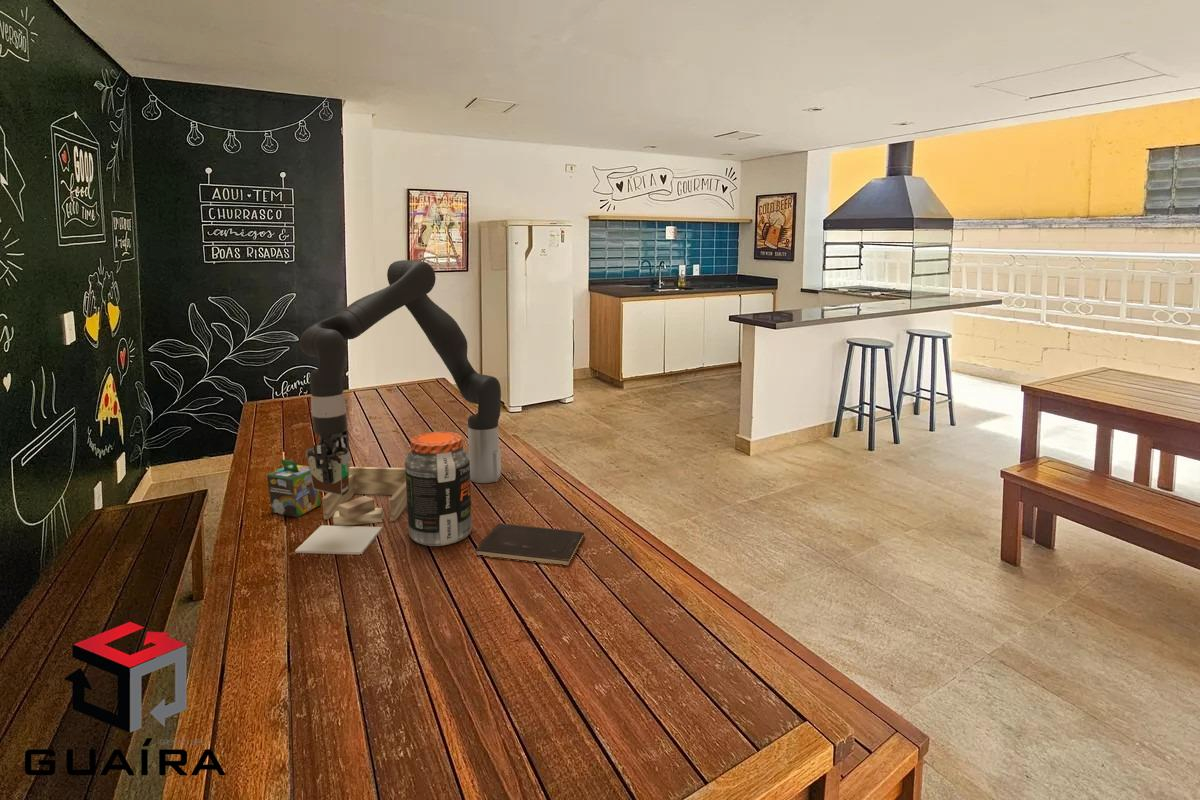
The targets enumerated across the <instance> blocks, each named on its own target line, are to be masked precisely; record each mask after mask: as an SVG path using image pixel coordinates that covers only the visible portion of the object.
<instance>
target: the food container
mask: <svg viewBox="0 0 1200 800" xmlns="http://www.w3.org/2000/svg"><path fill="white" fill-rule="evenodd" d="M340 449H341V447H340ZM327 456H330V455H329V454H327ZM305 458H307V463H308V464H307V465H308V466H309V469H310V474H311V480H312V485H313V489H314V490H318V491H319V492H323V493H326V494H327V493H332V494H336V495H340V496H343V495H344V494H346V493H347V492H348V490H349V467H350V464H349V463H350V462H351V461H352V459H353V457H352V455H351V452H350V450H349V451H348V449H347V448H345V447H343V450H340V451H338V452H336V457H335V458H333V459H332V470H333V483H332V484H324V483H323V475H322V469H317V468H316V462H315V455H314V447H312V448H308V449H306V451H305ZM320 462H321V460H320ZM328 463H329V459H328Z"/></svg>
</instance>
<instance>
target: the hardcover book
mask: <svg viewBox="0 0 1200 800" xmlns="http://www.w3.org/2000/svg"><path fill="white" fill-rule="evenodd" d="M583 537H584V538H585V532H584V531H578V530H570V529H560V528H559V529H558V528H549V527H539V526H531V525H520V524H511V523H501V522H498V523H497V524H496V525H495V526H494V527H493V529H492V530H491V531H490V532H489V533H488V534H487V535H486V536H485V538H484V539H483V540H482V542H481V543H480V544H479V545H478V546H477V547H476V548H475V552H476V556H477V555H484V556H489V557H488V558H493V557H503V558H511V559H520V560H529V561H536V562H545V563H546V562H547V563H554V564H563V565H568V564H569V565H570V563H571V562H570V560H571V559H572V560H573V558H572V557H574V556H575V554H576V552H577V550H578V548H579V547H578V545H579V544H581V543H582V541H583V539H584V538H583ZM582 538H583V539H582ZM581 540H582V541H581ZM580 542H581V543H580ZM579 546H580V545H579ZM577 547H578V548H577ZM576 549H577V550H576ZM575 551H576V552H575ZM574 553H575V554H574ZM573 555H574V556H573ZM484 556H483V557H484ZM572 560H571V561H572ZM536 562H535V563H536ZM569 562H570V563H569ZM545 563H544V564H545ZM569 565H568V566H569Z"/></svg>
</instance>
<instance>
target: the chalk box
mask: <svg viewBox="0 0 1200 800" xmlns="http://www.w3.org/2000/svg"><path fill="white" fill-rule="evenodd" d="M280 462H281V464H282V467H280V468H278V469H276V470H275V471H272V472H270V473H267V474H266V477H267V486H268V493H269V499H270V500H269V501H270V508H271V513H272V514H276V513H278V514H277V515H283V516H286V517H287V516H288V517H292V518H299V517H301V516H303V515H305V514H307V513H308V512H310V511H312V510H314V509H315V508H317V507H320V506H321V505H322V501H321V496H320V495H321V494H320V491H318V490H314V489H313V485H312V480H311V474H310V469H309V465H303V464H302V465H301V464H300V465H299V464H297V463H296V461H294V460H291V459H290V460H289V459H283V458H282V459H280ZM288 464H289V465H288Z"/></svg>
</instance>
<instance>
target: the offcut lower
mask: <svg viewBox="0 0 1200 800" xmlns="http://www.w3.org/2000/svg"><path fill="white" fill-rule="evenodd" d="M383 508H384V507H383V506H382V507H375V510H372V511H370V512H367V513H365V514H362V515H359V516H357V517H354V518H352V519H349V520H348V519H346V518H343V517H341V516H339V510H338V511H335V513H334V514H333V515H332V520H333V521H332V523H333V526H355V525H356V526H357V525H368V524H367V523H369V524H378V523H377V522H382V523H383V520H384V519H383V518H384V509H383ZM382 519H383V520H382Z"/></svg>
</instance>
